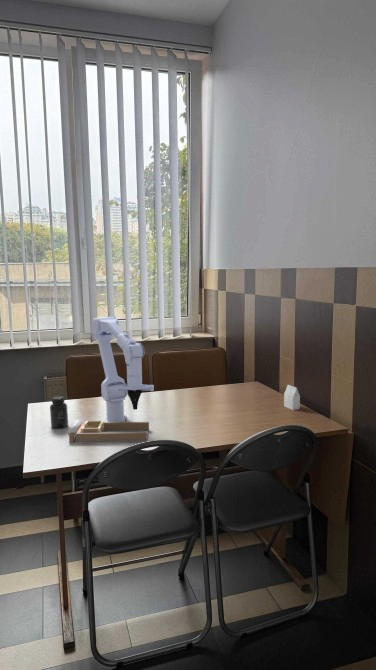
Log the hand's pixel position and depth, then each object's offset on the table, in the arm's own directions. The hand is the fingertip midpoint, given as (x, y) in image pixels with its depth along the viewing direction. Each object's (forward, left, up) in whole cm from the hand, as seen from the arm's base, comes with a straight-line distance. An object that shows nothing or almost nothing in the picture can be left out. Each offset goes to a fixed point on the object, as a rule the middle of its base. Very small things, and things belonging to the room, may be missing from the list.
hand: (135, 408), depth 187 cm
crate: (+4, -16, -9) cm, 19 cm away
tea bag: (-30, +68, -10) cm, 75 cm away
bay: (+4, -10, -9) cm, 14 cm away
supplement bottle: (-8, -32, -10) cm, 34 cm away
